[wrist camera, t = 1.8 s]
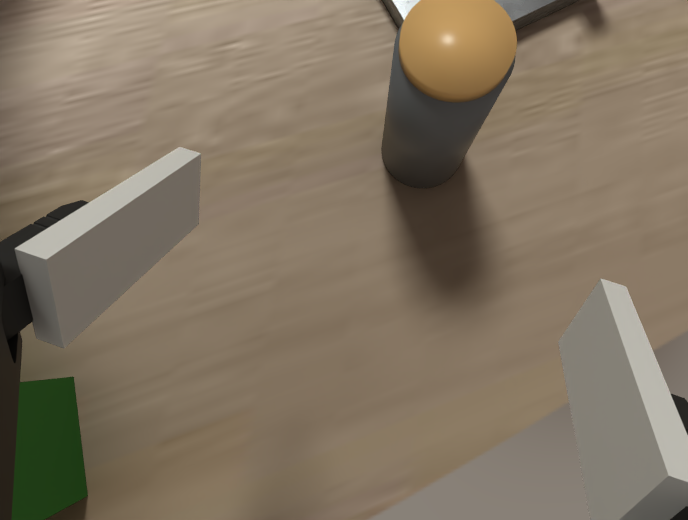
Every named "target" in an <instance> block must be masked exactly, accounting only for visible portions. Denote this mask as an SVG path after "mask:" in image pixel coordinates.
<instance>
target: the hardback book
mask: <svg viewBox="0 0 688 520" xmlns="http://www.w3.org/2000/svg"><path fill="white" fill-rule="evenodd" d="M86 496H88V494H87V486H86V477H85V469H84V461H83V452H82V444H81V435H80V427H79V419H78V410H77V402H76V393H75V385H74V377H67V378H58V379H48V380H38V381H29V382H20V386H19V403H18V419H17V436H16V453H15V469H14V486H13V503H12V519H11V520H45V519H46V518H48V517H50V516H52V515H54V514H56V513H57V512H59V511H61V510H63V509H65V508H66V507H68V506H70V505H72V504H74V503H76V502H77V501H79V500H81V499H83V498H85V497H86Z"/></svg>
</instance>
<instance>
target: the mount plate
mask: <svg viewBox="0 0 688 520" xmlns="http://www.w3.org/2000/svg"><path fill="white" fill-rule="evenodd" d="M382 1H383V2H384V4H385V6H386V7H387V9H388V11H389V12H390V14H391V16H392V17H393V19H394V21H395V23H396V24H397V26H398V28H400V27H401V25H402V23H403V22H404V20H405V18H406V16H407V14H408V13H409V11H410V10H411V9H412V8H413V6H415V5H416V4H417V3H418V2H419V1H420V0H382ZM494 1H496V2H497V3H498V4H499V5H500V6H501V7H502V8H503V9H504V10H505V11H506V12H507V14H508V15H509V17H510V18H511V20H512V22H513V25H514V27H515V30H518V29H520V28H522V27H524V26H526V25H528V24H530V23H532V22H534V21H536V20H538V19H541V18H543V17H545V16H547V15H549V14H551V13H553V12H555V11H557V10H559V9H561V8H564V7H566V6H568V5H570V4H572V3H574V2H576V1H578V0H494Z"/></svg>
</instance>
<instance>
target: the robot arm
mask: <svg viewBox="0 0 688 520" xmlns="http://www.w3.org/2000/svg"><path fill="white" fill-rule="evenodd" d="M200 167H201V153H198V152H194V151H191V150H188V149H185V148H182V147H178V148H177V149H175V150H174V151H172V152H170V153H169V154H167V155H165V156H164V157H162V158H161V159H159V160H157V161H156V162H154V163H153V164H151V165H149V166H148V167H146V168H144V169H143V170H141V171H140V172H138V173H136V174H135V175H133V176H131V177H130V178H128V179H127V180H125V181H123V182H122V183H120V184H118V185H117V186H115V187H114V188H112V189H110V190H109V191H107V192H105V193H104V194H102V195H101V196H99V197H97V198H96V199H94V200H93V201H91V202H86V201H83V200H81V201H77V202H74V203H70V204H67V205H63V206H61V207H59V208H57V209H56V210H54V211H52V212H50V213H49V214H47V216H46V217H42V218H40V219H39V220H37V221H35V222H34V224H30V225H28V226H27V227H25V228H23V229H21V230H20V231H18V232H16V233H15V234H13V235H11V236H9V237H8V238H6V239H4V240H3V241H1V242H0V520H11V519H12V503H13V486H14V469H15V453H16V436H17V419H18V403H19V386H20V369H21V353H22V338H21V334H20V331H21V330H22V329H23V328H24V327H26V326H27V325H28V324H29V323H31V322H33V326H34V331H35V335H36V338H37V339H39V340H42V341H45V342H48V343H50V344H53V345H56V346H59V347H61V348H65V347H66V346H67V345H68V344H69V343H70V342H72V341H73V340H74V339H75V338H76V337H77V336H78V335H79V334H80V333H81V332H82V331H83V330H85V329H86V328H87V327H88V326H89V325H90V324H91V323H92V322H93V321H94V320H95V319H96V318H98V317H99V316H100V315H101V314H102V313H103V312H104V311H105V310H106V309H107V308H108V307H109V306H111V305H112V304H113V303H114V302H115V301H116V300H117V299H118V298H119V297H120V296H121V295H122V294H124V293H125V292H126V291H127V290H128V289H129V288H130V287H131V286H132V285H133V284H134V283H135V282H137V281H138V280H139V279H140V278H141V277H142V276H143V275H144V274H145V273H146V272H147V271H148V270H150V269H151V268H152V267H153V266H154V265H155V264H156V263H157V262H158V261H159V260H160V259H161V258H163V257H164V256H165V255H166V254H167V253H168V252H169V251H170V250H171V249H172V248H173V247H174V246H175V245H177V244H178V243H179V242H180V241H181V240H182V239H183V238H184V237H185V236H186V235H187V234H188V233H190V232H191V231H192V230H193V229H194V228H195V227H196V226H197V225H198V224H199V200H200ZM558 343H559V349H560V354H561V360H562V366H563V371H564V377H565V382H566V388H567V393H568V399H569V405H570V410H571V416H572V421H573V427H574V432H575V438H576V444H577V449H578V454H579V460H580V466H581V471H582V477H583V482H584V488H585V494H586V499H587V505H588V510H589V516H590V520H688V402H687V401H686V400H685V398H682V397H679V396H676V395H673V394H670V392H669V389H668V387H667V384H666V382H665V379H664V377H663V375H662V372H661V370H660V367H659V365H658V363H657V360H656V358H655V355H654V353H653V350H652V348H651V346H650V343H649V341H648V338H647V336H646V334H645V331H644V329H643V326H642V324H641V322H640V319H639V317H638V314H637V312H636V309H635V307H634V305H633V302H632V300H631V297H630V295H629V293H628V290H627V288H626V286H623V285H620V284H617V283H613V282H610V281H607V280H604V279H600V280H599V282H598V283H597V285H596V286H595V288H594V289H593V291H592V292H591V294H590V295H589V297H588V298H587V300H586V301H585V303H584V304H583V306H582V307H581V309H580V310H579V312H578V313H577V315H576V316H575V318H574V319H573V321H572V322H571V324H570V325H569V327H568V328H567V330H566V331H565V333H564V334H563V336H562V337H561V339H560V340H559V342H558Z"/></svg>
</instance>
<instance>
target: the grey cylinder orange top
mask: <svg viewBox="0 0 688 520" xmlns="http://www.w3.org/2000/svg"><path fill="white" fill-rule="evenodd" d="M516 49H517V36H516V31H515V27H514V25H513V22H512V20H511V18H510V17H509V15H508V14H507V12H506V11H505V10H504V9H503V8H502V7H501V6H500V5H499V4H498V3H497V2H496V1H494V0H420V1H419V2H418V3H417V4H416V5H415V6H413V8H412V9H411V10H410V11H409V13H408V14H407V16H406V18H405V20H404V22H403V23H402V25H401V27H400V28H399V31H398V33H397V36H396V39H395V45H394V53H393V61H392V69H391V77H390V85H389V92H388V100H387V108H386V116H385V124H384V132H383V140H382V158H383V161H384V164H385V166H386V168H387V169H388V171H389V172H390V173H391V175H392V176H393V177H394V178H396V179H397V180H398V181H400V182H401V183H403V184H405V185H408V186H411V187H415V188H430V187H434V186H437V185H440V184H442V183H444V182H445V181H447V180H448V179H449V178H450V177H451V176H452V175H453V174H454V173H455V172H456V170H457V169H458V167H459V165H460V163H461V161H462V160H463V158H464V156H465V154H466V153H467V151H468V149H469V147H470V146H471V144H472V142H473V140H474V139H475V137H476V135H477V133H478V131H479V130H480V128H481V126H482V124H483V123H484V121H485V119H486V117H487V116H488V114H489V112H490V110H491V109H492V107H493V105H494V103H495V102H496V100H497V98H498V96H499V94H500V93H501V91H502V89H503V87H504V86H505V84H506V82H507V80H508V79H509V77H510V75H511V73H512V70H513V67H514V63H515V54H516Z"/></svg>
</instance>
